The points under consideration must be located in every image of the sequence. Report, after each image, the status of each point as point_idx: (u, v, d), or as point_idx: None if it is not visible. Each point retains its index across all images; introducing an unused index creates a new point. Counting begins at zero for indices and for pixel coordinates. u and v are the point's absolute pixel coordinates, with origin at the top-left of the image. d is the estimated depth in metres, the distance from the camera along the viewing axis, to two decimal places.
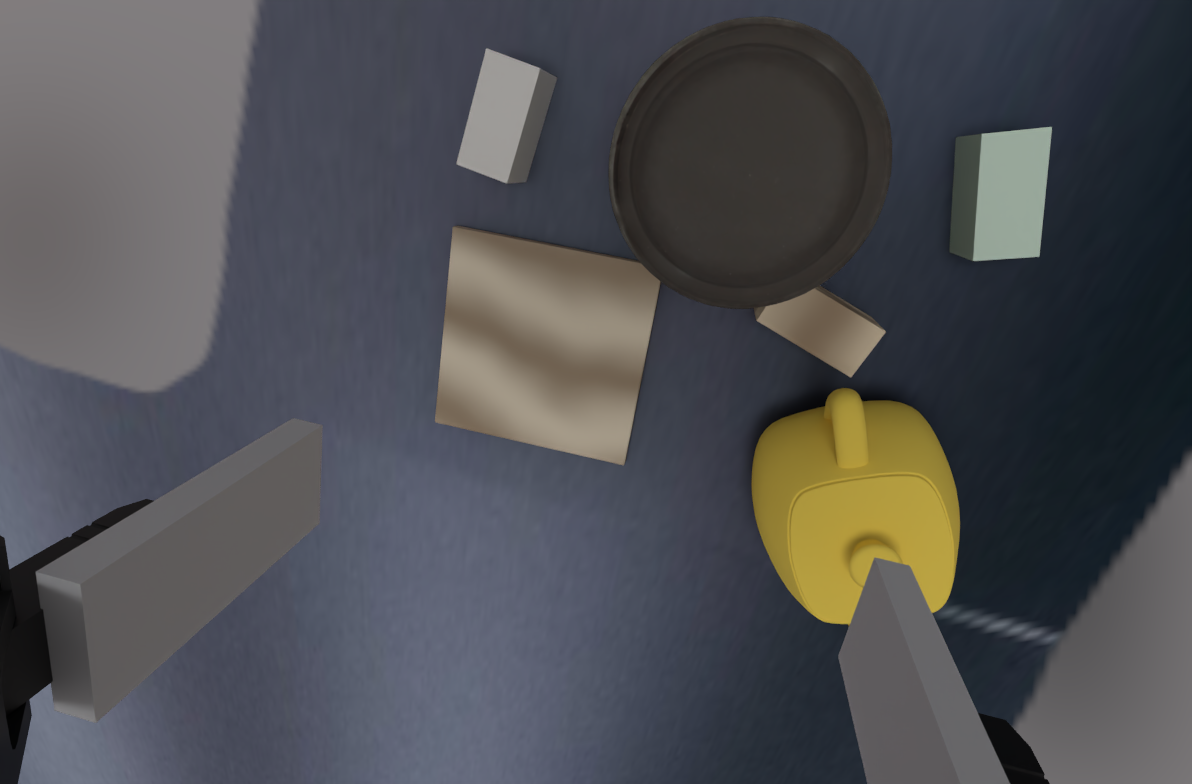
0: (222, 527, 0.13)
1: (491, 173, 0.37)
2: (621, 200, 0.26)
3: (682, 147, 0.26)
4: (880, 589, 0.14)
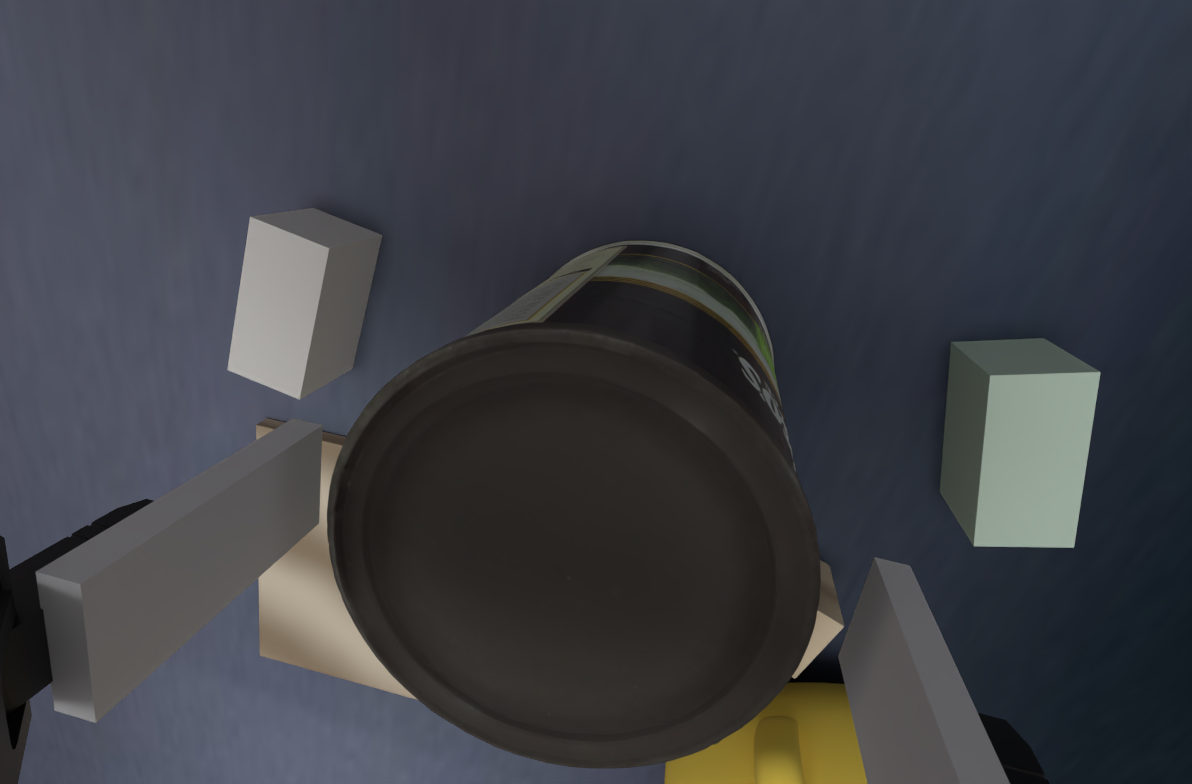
0: (222, 527, 0.13)
1: (276, 385, 0.26)
2: (355, 593, 0.15)
3: (449, 525, 0.14)
4: (880, 589, 0.14)
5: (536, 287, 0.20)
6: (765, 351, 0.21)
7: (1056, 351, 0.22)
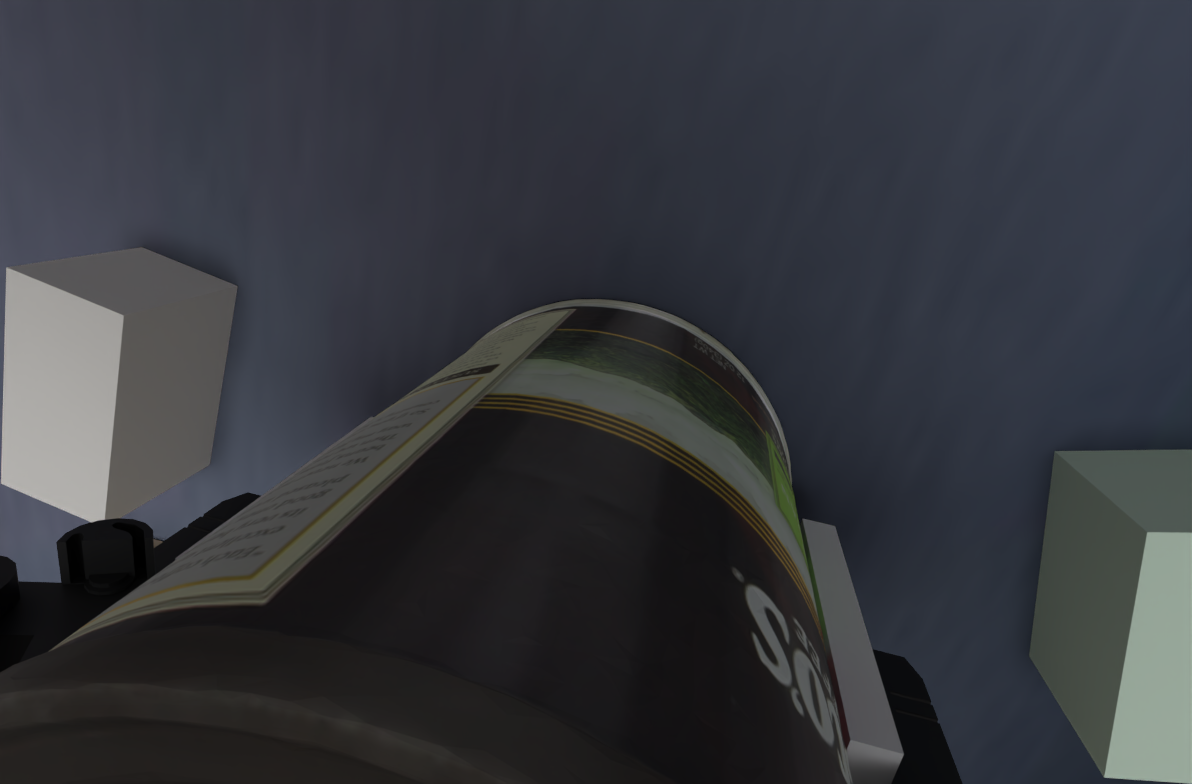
0: None
1: (70, 506, 0.18)
2: None
3: None
4: (804, 546, 0.15)
5: (410, 394, 0.12)
6: (785, 495, 0.13)
7: None
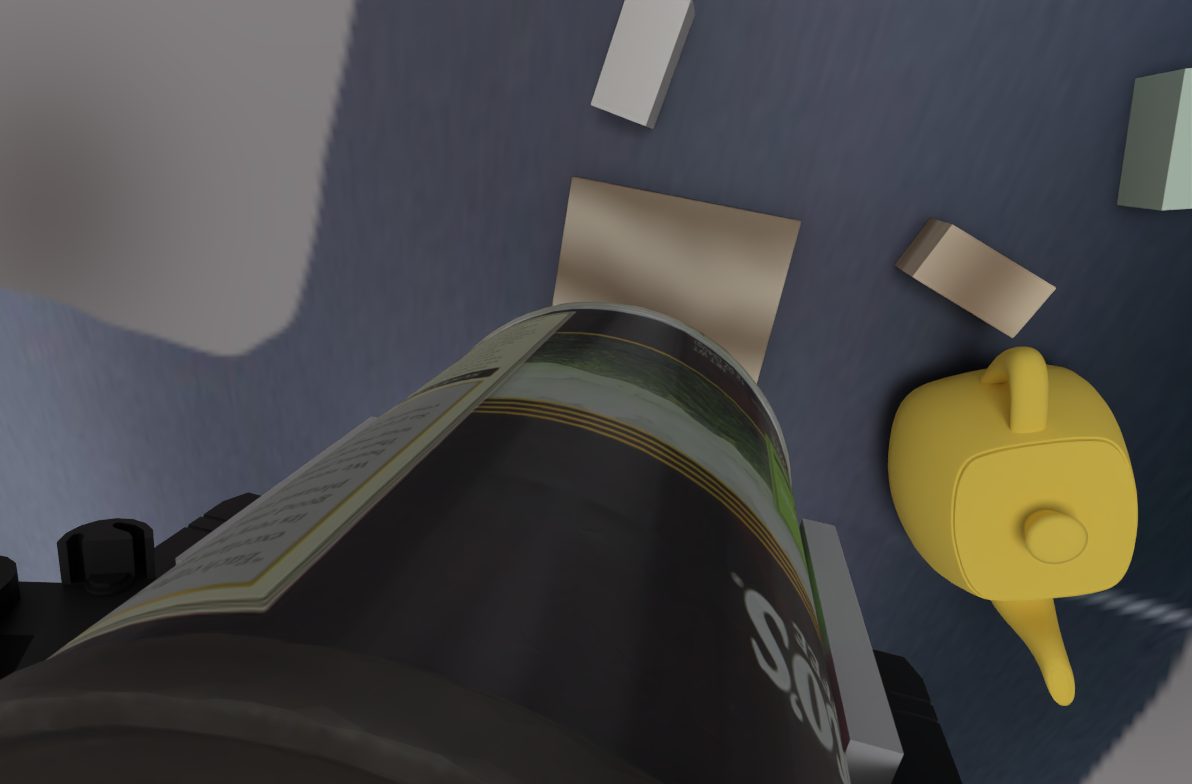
0: None
1: (629, 115, 0.34)
2: None
3: None
4: (804, 546, 0.15)
5: (409, 397, 0.12)
6: (784, 499, 0.13)
7: None
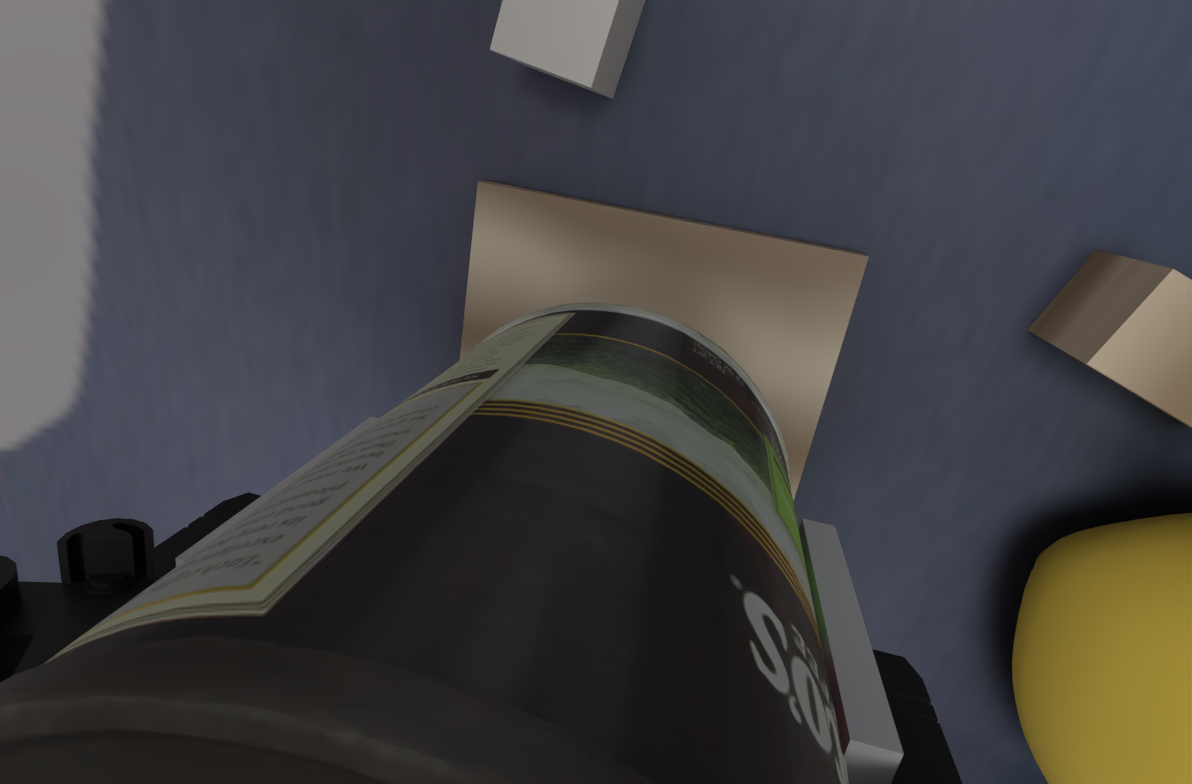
0: None
1: (560, 67, 0.19)
2: None
3: None
4: (804, 546, 0.15)
5: (409, 399, 0.12)
6: (783, 500, 0.13)
7: None
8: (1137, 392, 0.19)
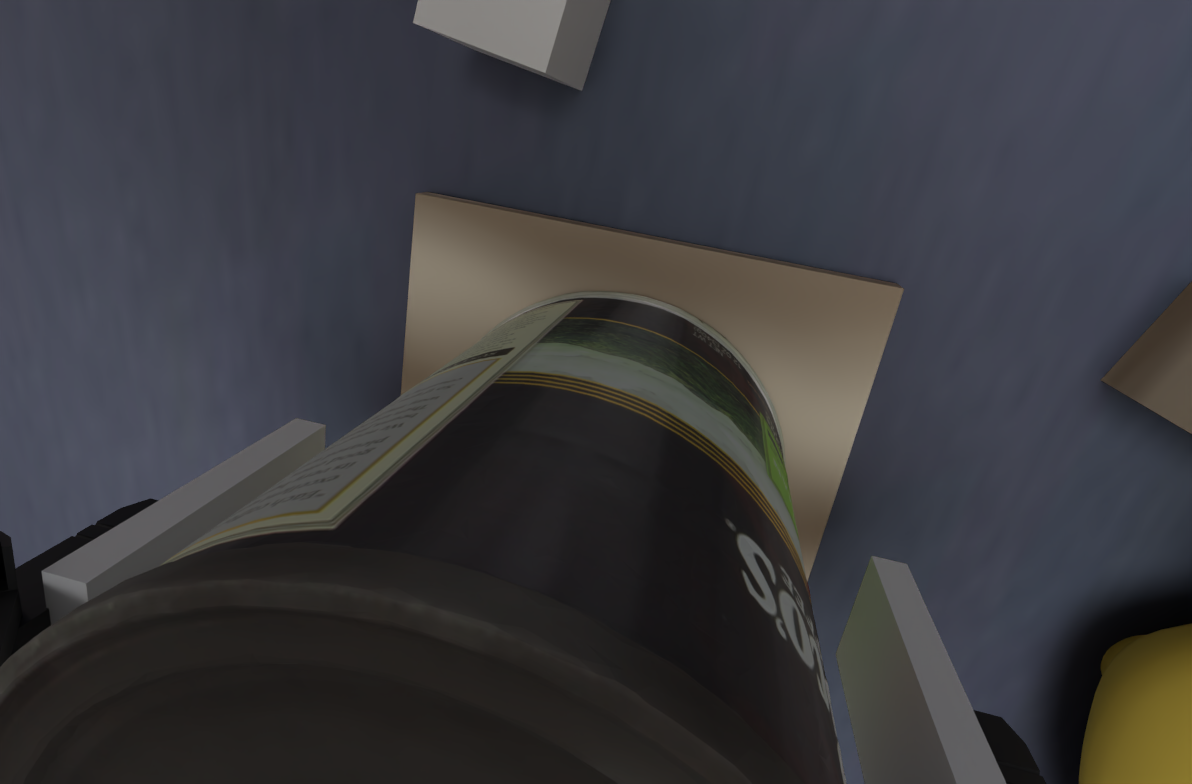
0: None
1: (504, 45, 0.14)
2: None
3: None
4: (877, 587, 0.14)
5: (432, 375, 0.13)
6: (776, 469, 0.14)
7: None
8: None
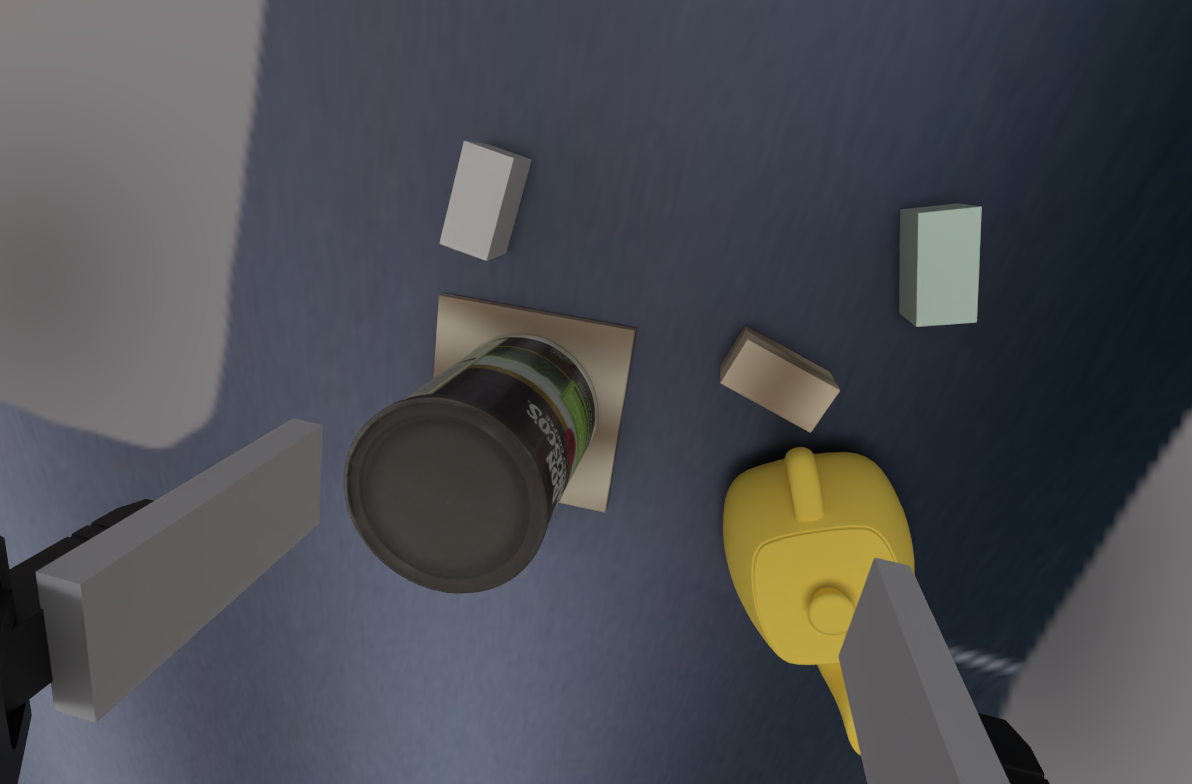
0: (222, 527, 0.13)
1: (472, 251, 0.40)
2: (356, 514, 0.34)
3: (396, 480, 0.33)
4: (880, 589, 0.14)
5: None
6: (569, 397, 0.40)
7: (961, 205, 0.37)
8: (744, 395, 0.40)
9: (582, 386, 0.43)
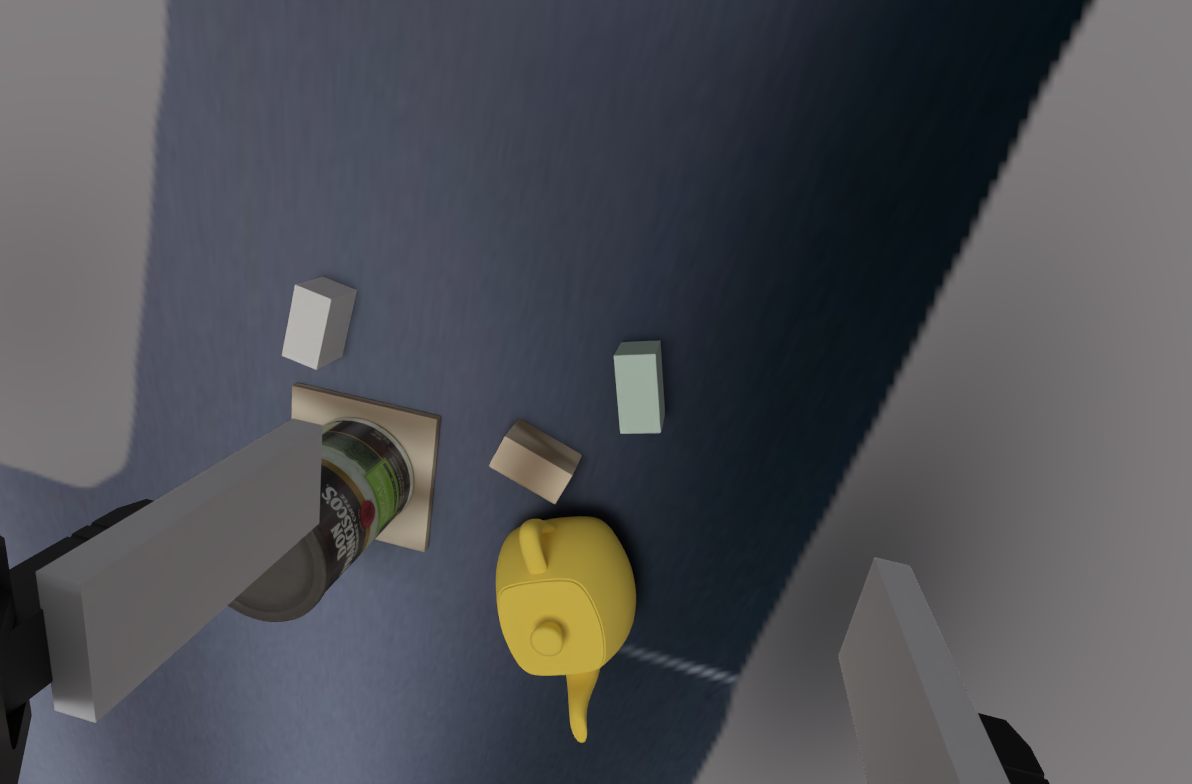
0: (222, 527, 0.13)
1: (305, 362, 0.53)
2: None
3: None
4: (880, 589, 0.14)
5: None
6: (375, 474, 0.53)
7: (654, 346, 0.50)
8: (506, 475, 0.53)
9: (395, 461, 0.56)
